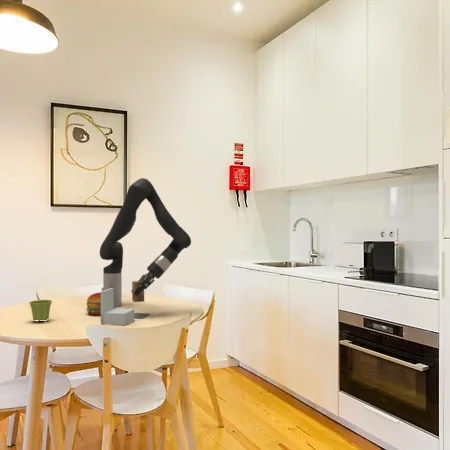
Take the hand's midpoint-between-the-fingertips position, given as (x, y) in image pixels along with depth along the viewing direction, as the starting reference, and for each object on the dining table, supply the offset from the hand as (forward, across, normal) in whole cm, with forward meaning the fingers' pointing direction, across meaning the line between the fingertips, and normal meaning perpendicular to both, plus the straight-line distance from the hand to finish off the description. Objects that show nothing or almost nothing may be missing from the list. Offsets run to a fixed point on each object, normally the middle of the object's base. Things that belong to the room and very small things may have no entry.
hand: (134, 293), depth 206 cm
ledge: (+14, -8, -1) cm, 16 cm away
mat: (+6, +1, -9) cm, 11 cm away
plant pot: (+36, +8, +20) cm, 42 cm away
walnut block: (+1, 0, -4) cm, 4 cm away
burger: (+17, +15, +1) cm, 22 cm away
